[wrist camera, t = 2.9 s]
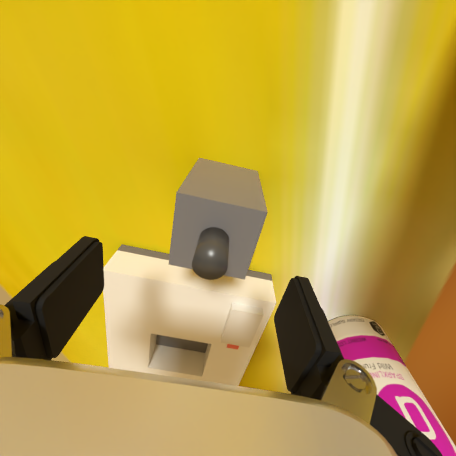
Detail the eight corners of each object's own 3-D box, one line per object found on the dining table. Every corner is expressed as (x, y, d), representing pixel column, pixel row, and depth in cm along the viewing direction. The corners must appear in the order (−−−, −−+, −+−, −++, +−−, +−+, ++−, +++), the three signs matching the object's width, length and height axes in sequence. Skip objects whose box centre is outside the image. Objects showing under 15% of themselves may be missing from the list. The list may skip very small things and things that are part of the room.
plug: (257, 171, 20) (272, 235, 11) (243, 221, 22) (245, 308, 13) (199, 157, 19) (164, 211, 10) (191, 210, 22) (156, 292, 13)
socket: (271, 274, 25) (277, 310, 21) (227, 380, 36) (226, 418, 32) (121, 244, 24) (97, 275, 20) (123, 363, 35) (107, 399, 31)
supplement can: (319, 309, 27) (392, 503, 14) (390, 313, 27) (530, 513, 14) (306, 351, 31) (354, 532, 18) (368, 355, 31) (460, 540, 18)
